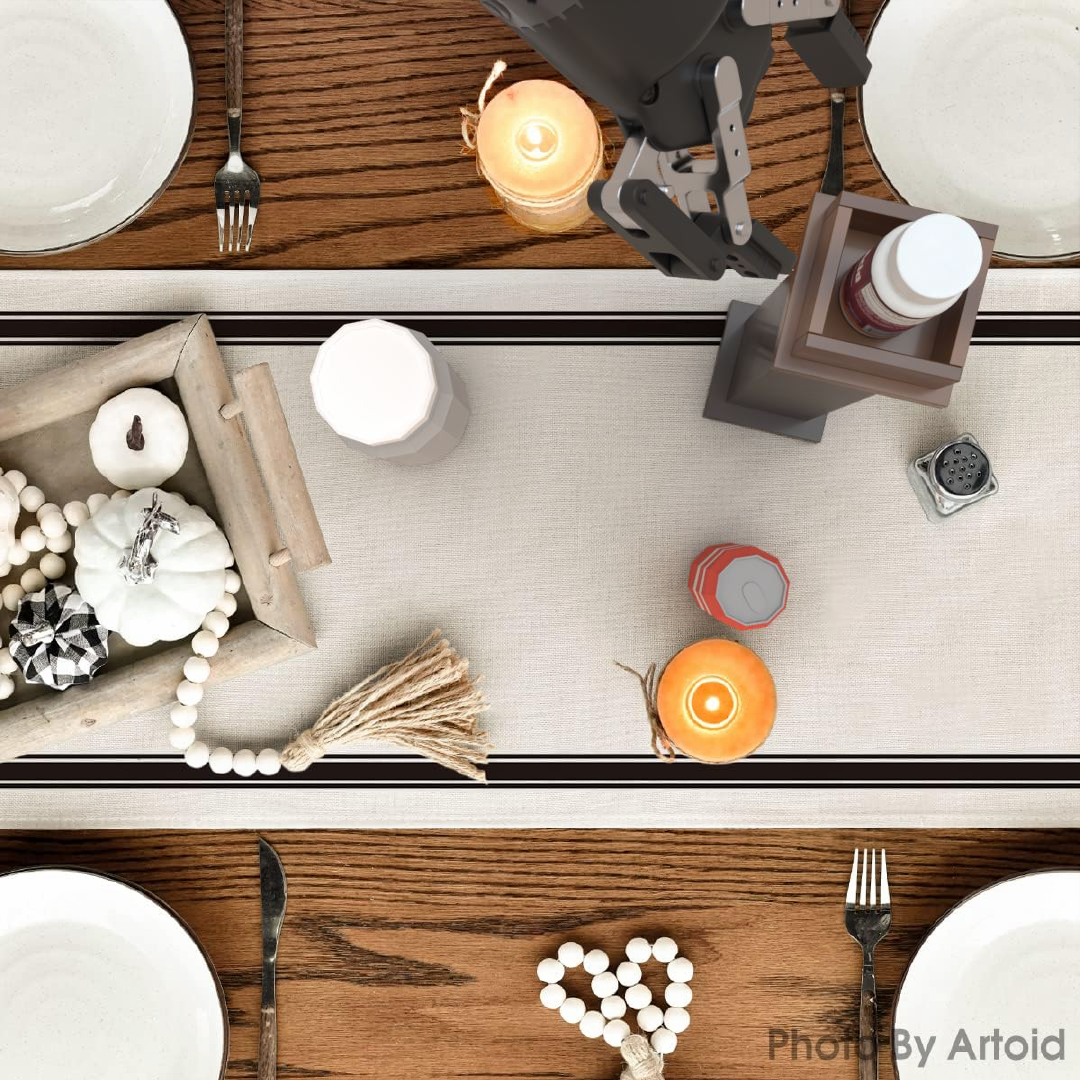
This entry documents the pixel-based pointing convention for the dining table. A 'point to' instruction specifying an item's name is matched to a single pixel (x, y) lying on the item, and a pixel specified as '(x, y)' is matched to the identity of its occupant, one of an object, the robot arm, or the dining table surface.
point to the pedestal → (767, 377)
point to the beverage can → (739, 585)
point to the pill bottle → (911, 275)
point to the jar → (389, 393)
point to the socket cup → (841, 351)
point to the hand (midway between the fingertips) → (813, 172)
